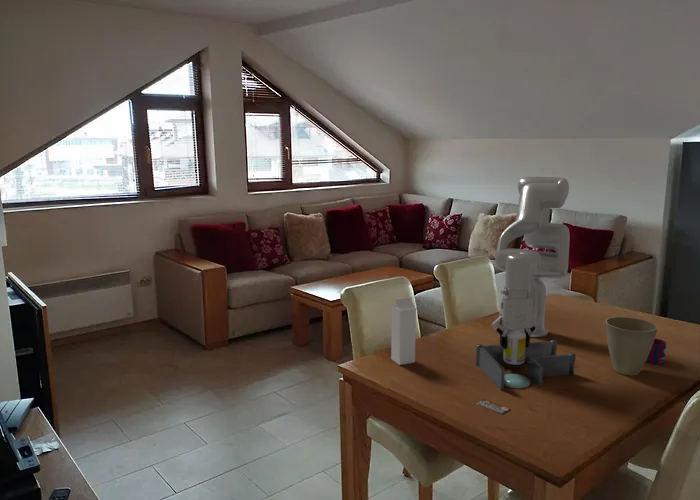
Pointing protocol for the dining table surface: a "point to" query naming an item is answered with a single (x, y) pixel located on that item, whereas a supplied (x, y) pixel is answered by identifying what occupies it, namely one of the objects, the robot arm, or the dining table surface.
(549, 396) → the dining table surface
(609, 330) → the plant pot
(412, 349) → the milk
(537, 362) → the gray wall barrier
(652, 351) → the mug
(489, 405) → the chocolate bar
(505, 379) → the pad
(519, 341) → the supplement bottle
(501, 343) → the robot arm
